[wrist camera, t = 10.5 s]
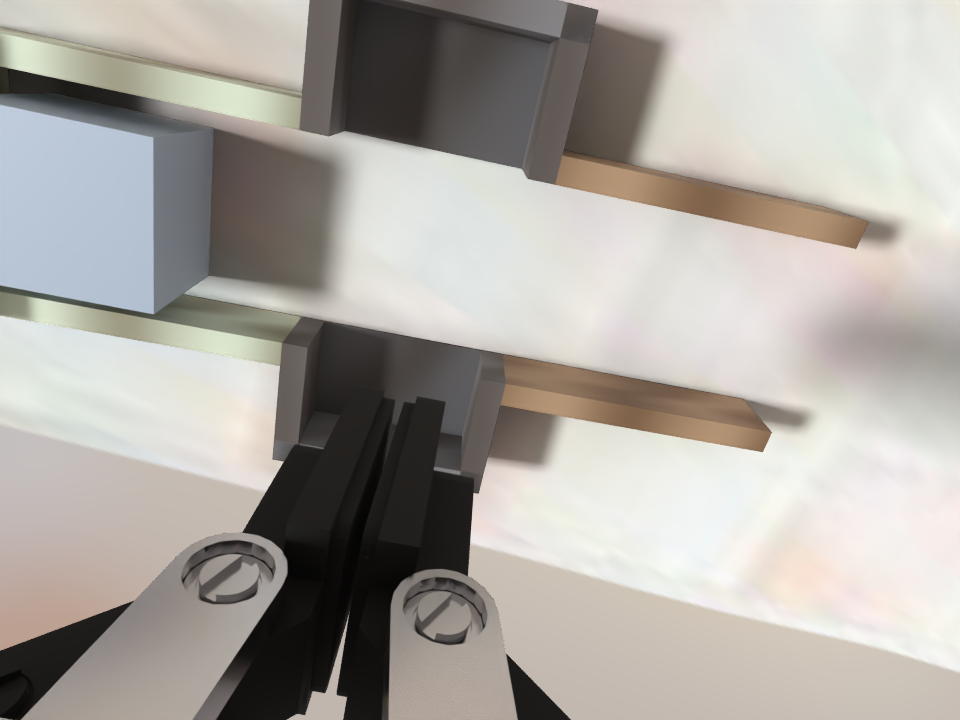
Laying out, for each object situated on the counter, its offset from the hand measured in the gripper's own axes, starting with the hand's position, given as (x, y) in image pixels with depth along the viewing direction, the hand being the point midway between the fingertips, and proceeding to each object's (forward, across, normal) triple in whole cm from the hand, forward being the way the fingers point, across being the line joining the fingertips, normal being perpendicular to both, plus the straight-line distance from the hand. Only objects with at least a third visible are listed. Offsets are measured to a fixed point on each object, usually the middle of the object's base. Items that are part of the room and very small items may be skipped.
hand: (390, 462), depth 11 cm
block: (+15, +13, 0) cm, 20 cm away
